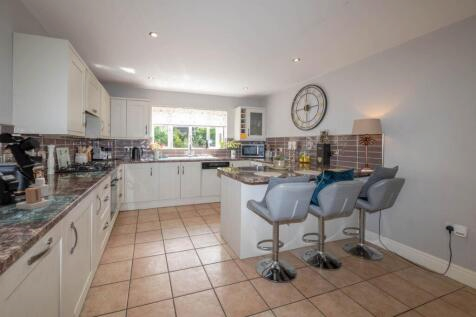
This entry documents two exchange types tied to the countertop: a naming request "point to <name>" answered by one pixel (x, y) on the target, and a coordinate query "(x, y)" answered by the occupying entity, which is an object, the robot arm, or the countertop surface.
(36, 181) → the printed box
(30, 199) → the plug
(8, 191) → the robot arm
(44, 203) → the socket block
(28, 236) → the countertop surface
